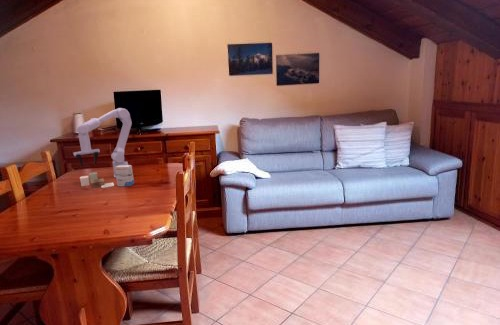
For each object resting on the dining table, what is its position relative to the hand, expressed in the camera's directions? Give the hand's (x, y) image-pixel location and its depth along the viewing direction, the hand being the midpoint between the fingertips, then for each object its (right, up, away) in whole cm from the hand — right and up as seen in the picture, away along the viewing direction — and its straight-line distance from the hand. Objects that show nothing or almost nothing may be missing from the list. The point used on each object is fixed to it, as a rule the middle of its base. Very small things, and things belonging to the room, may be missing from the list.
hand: (89, 165), depth 214 cm
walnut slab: (+9, -12, -8) cm, 17 cm away
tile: (+16, -12, -10) cm, 22 cm away
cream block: (0, -12, -5) cm, 13 cm away
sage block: (+2, -10, +3) cm, 10 cm away
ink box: (+27, -12, -10) cm, 31 cm away
